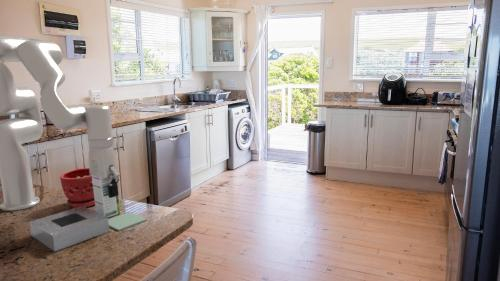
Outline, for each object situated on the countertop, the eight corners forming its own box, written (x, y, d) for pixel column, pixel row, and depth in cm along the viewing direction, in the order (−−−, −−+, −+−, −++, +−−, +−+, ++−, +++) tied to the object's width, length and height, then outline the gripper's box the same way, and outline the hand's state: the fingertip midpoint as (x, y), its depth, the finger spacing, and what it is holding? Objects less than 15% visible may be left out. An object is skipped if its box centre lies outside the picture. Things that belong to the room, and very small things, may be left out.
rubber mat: (101, 222, 122) (101, 221, 122) (129, 213, 130) (129, 212, 130) (118, 231, 116) (118, 229, 116) (146, 220, 123) (146, 219, 123)
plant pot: (78, 197, 148) (75, 167, 145) (109, 198, 145) (106, 168, 143) (55, 209, 135) (51, 176, 133) (89, 211, 133) (85, 178, 130)
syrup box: (104, 219, 125) (100, 176, 122) (95, 215, 129) (91, 173, 126) (120, 214, 129) (116, 172, 127) (111, 210, 133) (107, 169, 130)
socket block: (31, 235, 114) (29, 221, 113) (83, 218, 126) (82, 206, 125) (55, 251, 104) (53, 236, 103) (109, 231, 116) (107, 217, 115)
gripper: (77, 142, 127) (82, 191, 130) (104, 148, 116) (109, 202, 119) (98, 138, 133) (103, 186, 136) (126, 144, 122) (130, 195, 125)
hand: (106, 193), depth 128 cm, fingers open, 9 cm apart
